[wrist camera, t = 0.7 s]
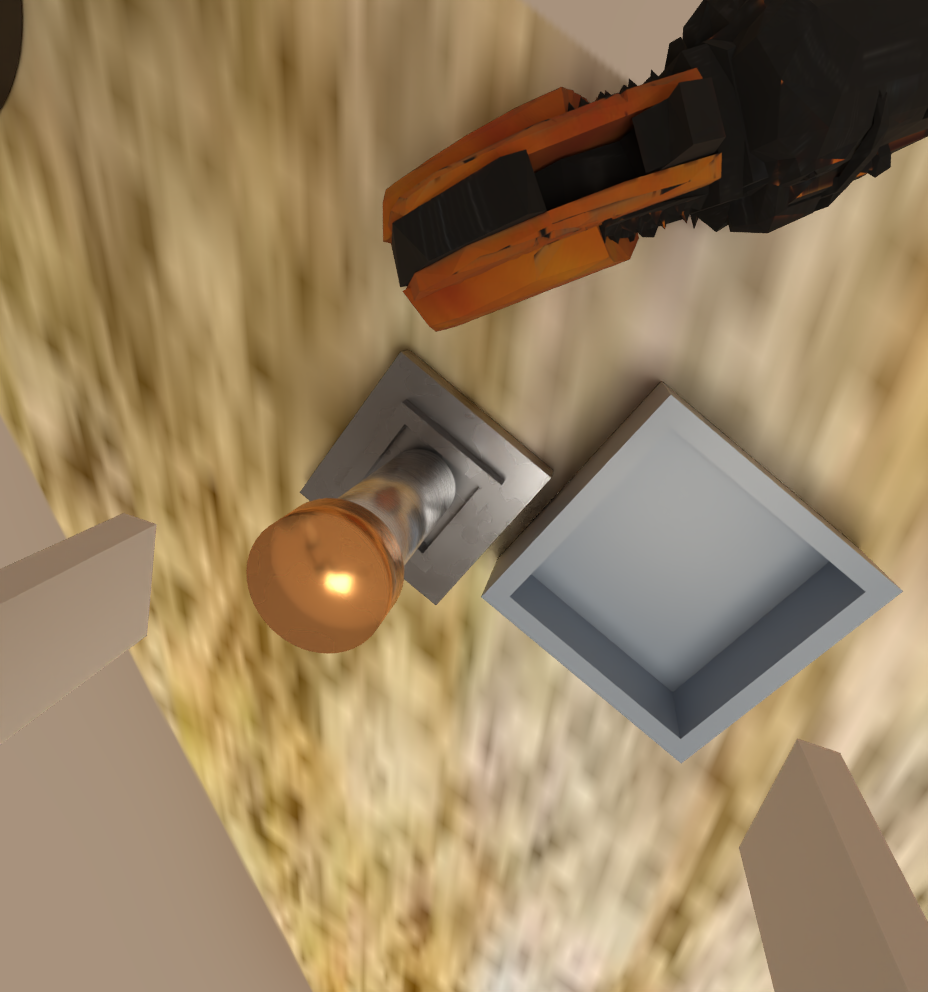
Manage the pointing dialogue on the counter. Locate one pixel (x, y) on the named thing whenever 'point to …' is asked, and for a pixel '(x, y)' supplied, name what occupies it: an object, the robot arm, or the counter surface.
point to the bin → (682, 577)
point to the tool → (664, 151)
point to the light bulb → (347, 554)
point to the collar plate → (459, 442)
